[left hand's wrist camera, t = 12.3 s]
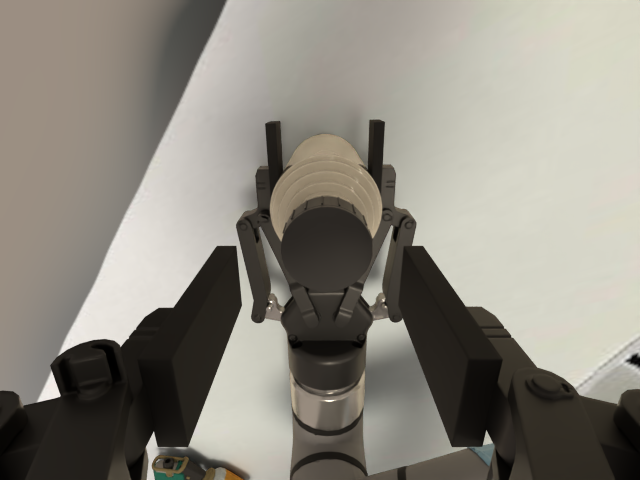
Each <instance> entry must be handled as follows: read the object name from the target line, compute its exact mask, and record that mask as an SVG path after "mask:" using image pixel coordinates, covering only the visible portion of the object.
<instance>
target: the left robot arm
mask: <svg viewBox="0 0 640 480" xmlns="http://www.w3.org/2000/svg"><path fill="white" fill-rule="evenodd" d="M241 306H242V301H241V291H240V280H239V270H238V259H237V248H236V246H217V247H216V248H215V250H214V251H213V253H212V254H211V255H210V257H209V258H208V260H207V261H206V262H205V264H204V265H203V267H202V268H201V270H200V271H199V272H198V274H197V275H196V277H195V278H194V279H193V281H192V282H191V284H190V285H189V287H188V288H187V289H186V291H185V292H184V294H183V295H182V296H181V298H180V299H179V301H178V302H177V303H176V305H175V306H174V308H158V309H156V310H155V311H153V312H152V313H150V314H149V315H147V316H146V317H145V318H144V319H143V320H142V321H141V323H140V324H139V325H138V326H137V328H136V330H134V331H133V333H132V334H131V335H130V336H129V339H127V340H126V341H125V343H124V344H123V345H122V346H121V347H120V345H119V344H118V343H116V342H115V341H112V340H107V339H101V340H92V341H88V342H85V343H81V344H79V345H77V346H74V347H72V348H70V349H68V350H66V351H65V352H64V353H62V354H61V355H59V356H58V357H57V358H56V359H55V360H54V361H53V363H52V364H51V365H50V366H51V369H52V372H53V375H54V378H55V381H56V383H57V386H58V389H59V392H60V395H61V396H60V397H58V398H55V399H51V400H46V401H42V402H37V403H33V404H29V405H24V406H23V404H22V402H21V399H20V397H19V395H17V394H16V393H14V392H13V391H0V480H146V479H147V470H148V455H147V450H146V446H147V444H148V442H149V440H150V438H151V436H152V434H153V432H154V433H155V437H156V442H157V446H158V447H188V446H189V443H190V440H191V438H192V435H193V432H194V430H195V427H196V425H197V422H198V419H199V417H200V414H201V411H202V409H203V406H204V404H205V401H206V398H207V396H208V393H209V390H210V388H211V385H212V383H213V380H214V377H215V375H216V372H217V369H218V367H219V364H220V362H221V359H222V356H223V354H224V351H225V348H226V346H227V343H228V341H229V338H230V335H231V333H232V330H233V327H234V325H235V322H236V320H237V317H238V314H239V312H240V309H241ZM398 306H399V309H400V312H401V314H402V317H403V320H404V322H405V325H406V327H407V330H408V333H409V335H410V338H411V341H412V343H413V346H414V348H415V351H416V354H417V356H418V359H419V362H420V364H421V367H422V369H423V372H424V375H425V377H426V380H427V383H428V385H429V388H430V390H431V393H432V396H433V398H434V401H435V404H436V406H437V409H438V411H439V414H440V417H441V419H442V422H443V425H444V427H445V430H446V432H447V435H448V438H449V440H450V443H451V446H452V447H482V446H483V442H484V437H485V433H486V430H487V432H488V434H489V436H490V438H491V440H492V442H493V444H494V450H493V454H492V458H491V462H490V466H489V470H488V474H487V480H492V478H494V480H640V389H634V390H627V391H625V392H624V393H623V394H621V397H620V399H619V402H618V404H614V403H609V402H605V401H601V400H596V399H592V398H587V397H584V396H580V395H579V394H578V393H577V391H576V390H575V388H574V387H573V386H572V385H571V384H570V383H568V382H567V381H566V380H565V379H563V378H562V377H560V376H558V375H556V374H554V373H552V372H550V371H546V370H543V369H540V368H537V367H536V365H535V364H534V363H533V362H532V361H531V359H530V358H529V357H528V356H527V354H526V353H525V352H524V351H523V350H522V348H521V347H520V346H519V345H518V343H517V342H516V341H515V340H514V338H511V335H510V334H509V332H508V331H507V330H506V329H504V326H503V325H502V324H501V322H500V321H499V320H498V319H497V318H496V316H495V315H493V314H492V313H490V312H488V311H487V310H485V309H484V308H482V307H466V306H465V305H464V303H463V302H462V301H461V299H460V298H459V296H458V295H457V294H456V292H455V291H454V289H453V288H452V287H451V285H450V284H449V282H448V281H447V279H446V278H445V277H444V275H443V274H442V272H441V271H440V270H439V268H438V267H437V265H436V264H435V262H434V261H433V260H432V258H431V257H430V255H429V254H428V253H427V251H426V250H425V248H424V247H423V246H404V248H403V259H402V270H401V280H400V291H399V301H398Z"/></svg>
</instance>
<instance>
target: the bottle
mask: <svg viewBox="0 0 640 480" xmlns="http://www.w3.org/2000/svg"><path fill="white" fill-rule="evenodd" d="M321 196H331V197H337V198H338V197H340V198H341V199H343V200H346V201H348V202H349V203H351V204H354V206H355V207H356V208H357V209H358V210H359V211H360V212H361V214H362V215H364V216H365V219H366V222H367V226H368V229H369V230H370V233H371V236H372V238H374V236H375V234H376V232H377V230H378V227H379V225H380V221H381V216H382V201H381V196H380V192H379V189H378V187H377V185H376V183H375V181H374V180H373V178H372V177H371V175H370V173H369V172H368V170H367V168H366V167H365V165H364V163H363V162H362V160H361V159H360V157H359V155H358V154H357V152H356V150H355V149H354V148H353V146H352V145H351V144H350V143H349V142H347V141H346V140H344V139H343V138H341V137H338V136H336V135H331V134H320V135H315V136H312V137H310V138H308V139H306V140H305V141H303V142H302V143H301V144H300V145H299V146H298V147H297V148H296V150H295V151H294V153H293V155H292V157H291V158H290V160H289V162H288V164H287V166H286V167H285V169H284V171H283V173H282V175H281V176H280V178H279V180H278V182H277V183H276V186H275V188H274V190H273V193H272V196H271V202H270V216H271V221H272V225H273V227H274V230H275V232H276V234H277V236H278V237H279V239H280V241H282V237H283V229H284V226H285V223H287V221H288V219H289V217H290V215H291V214H292V212H293V210H295V209H296V208H297V207H298V206H300V205H301V204H302V203H304V202H305V201H306V200H307V201H308V200H310V199H313V198H316V197H321Z"/></svg>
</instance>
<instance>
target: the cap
mask: <svg viewBox="0 0 640 480" xmlns="http://www.w3.org/2000/svg"><path fill="white" fill-rule="evenodd" d="M372 241H373V238H372V236H371V233H370V230H369V229H368V226H367V222H366V219H365V216H364V215H362V214H361V212H360V211H359V210H358V209H357V208H356V207H355V206H354V204H351V203H349V202H348V201H346V200H343V199H341V198H340V197H338V198H337V197H331V196H321V197H316V198H313V199H310V200H308V201H307V200H306V201H305V202H304V203H302V204H301V205H300V206H298V207H297V208H296V209H295V210H293V212H292V214H291V215H290V217H289V219H288V221H287V223H285V226H284V229H283V237H282V241H281V247H280V249H281V258H282V261H283V264H284V266H285V268H286V270H287V272H288V273H289V274H290V275H291V277H292V278H293V279H294V280H296V281H297V282H298V283H300V284H301V285H303V286H305V287H307V288H309V289H312V290H316V291H324V292H329V291H337V290H341V289H344V288H346V287H349V286H350V285H352V284H354V283H355V282H357V281H358V280H359V279H360V278H361V277H362V276H363V275H364V274H365V272H366V271H367V269H368V267H369V265H370V263H371V260H372V255H373V243H372Z"/></svg>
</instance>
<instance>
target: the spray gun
mask: <svg viewBox="0 0 640 480" xmlns="http://www.w3.org/2000/svg"><path fill="white" fill-rule="evenodd" d="M161 458H162V459H165V460H161V461H159V462H157V463H156V461H157V460H158V459H161ZM177 460H178V461H179V462H178V461H177ZM182 461H184V462H182ZM155 463H156V464H155ZM152 469H153V470H154V476H155V480H244V479H242V478H240V477H239V476H237V475H235V474H233V473H232V472H230V471H228V470H227V469H225V468H221V467H219V468H217V469H214V468H212V467H211V468H209V469H208V470H207V471H206V472H205V471H204V470H203V469H202V468H200V467H199V466H198V465H196V464H195V463H193V462H192V461H190V460H189V458H188V457H186V456H185V457H184V458H180V457H172V456H164V455H159V456H157V457H156V458H155V459H154V461H153V463H152Z"/></svg>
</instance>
